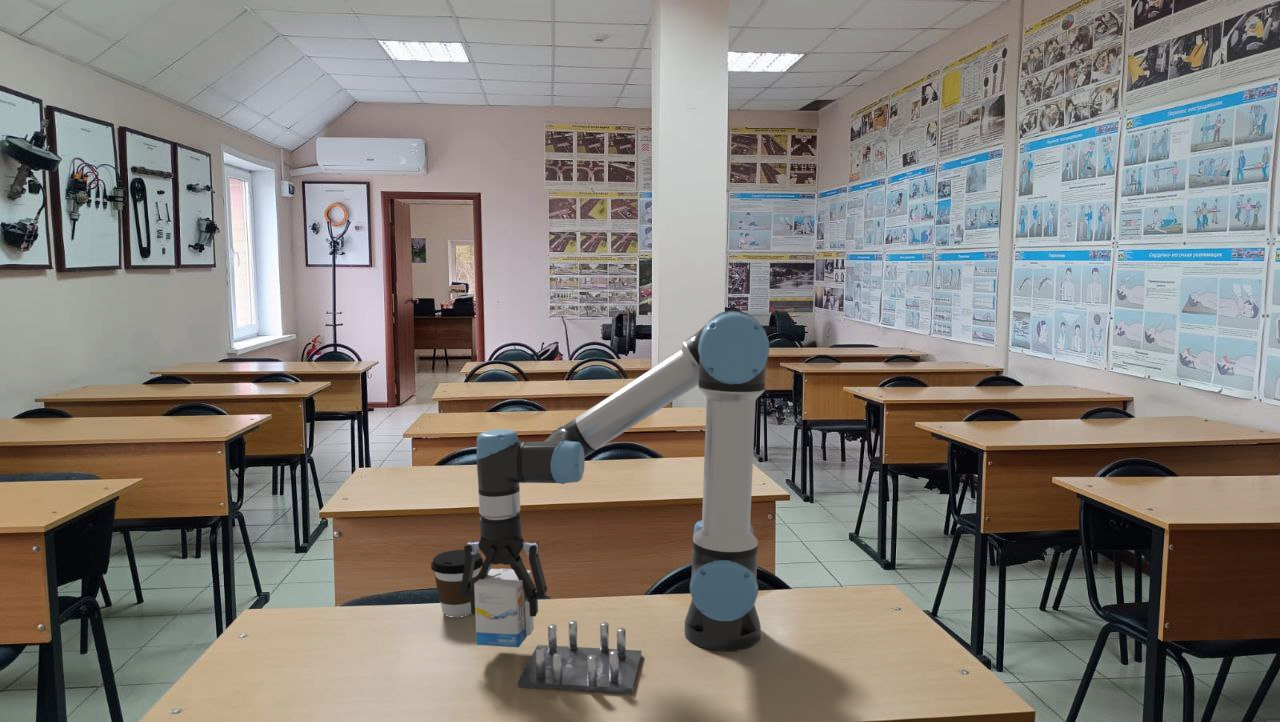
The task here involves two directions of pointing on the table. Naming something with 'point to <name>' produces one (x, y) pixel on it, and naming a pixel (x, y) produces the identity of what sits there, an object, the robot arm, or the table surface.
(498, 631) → the ink box
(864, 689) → the table surface
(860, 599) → the table surface
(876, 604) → the table surface
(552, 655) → the grey peg board
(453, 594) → the coffee cup
